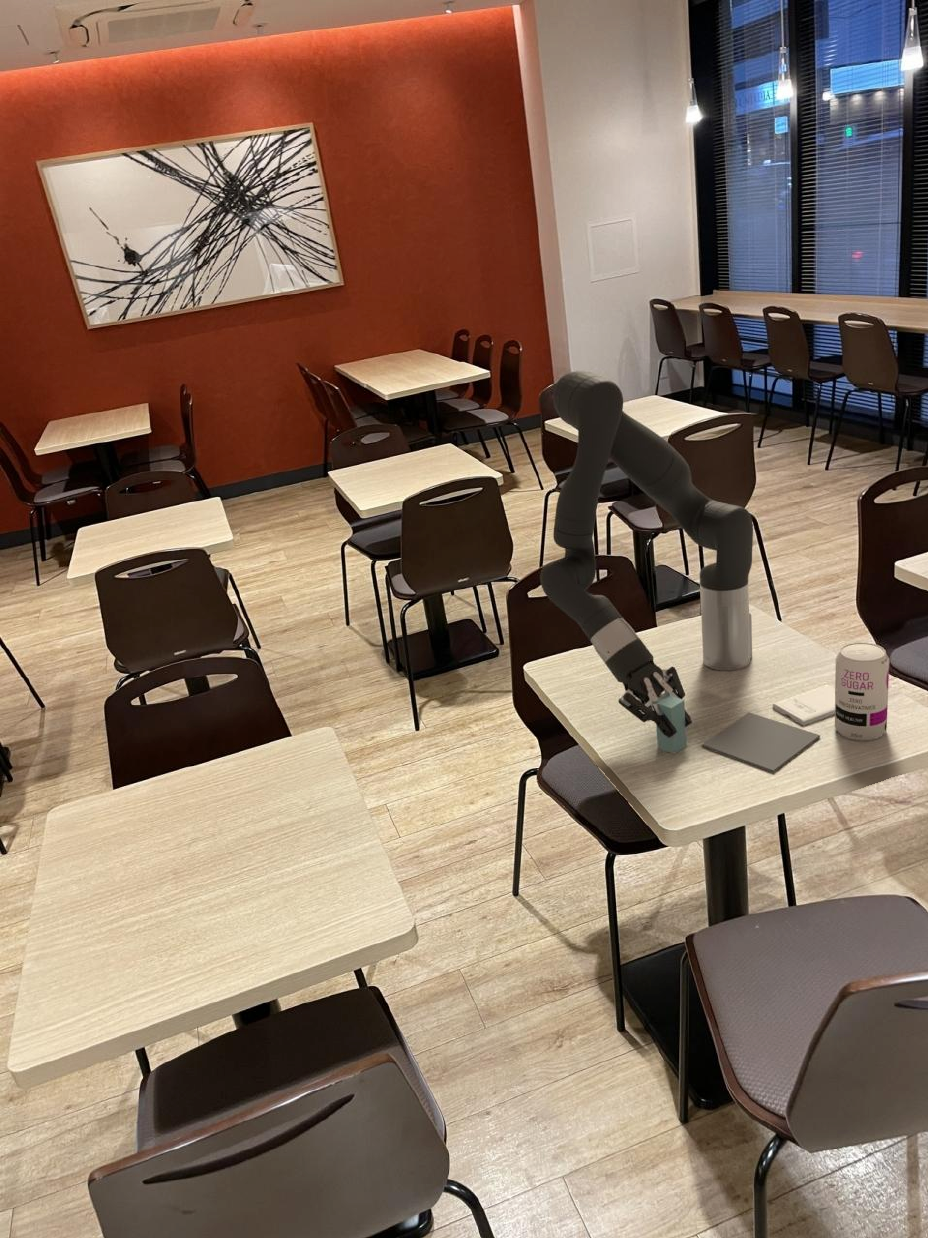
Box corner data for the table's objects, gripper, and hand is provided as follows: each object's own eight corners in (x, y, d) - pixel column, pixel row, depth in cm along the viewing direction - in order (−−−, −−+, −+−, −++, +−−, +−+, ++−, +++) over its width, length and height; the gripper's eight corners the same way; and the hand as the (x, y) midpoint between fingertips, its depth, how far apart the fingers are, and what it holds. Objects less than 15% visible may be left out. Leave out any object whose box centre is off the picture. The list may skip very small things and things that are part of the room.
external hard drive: (859, 708, 169) (803, 728, 165) (826, 691, 176) (772, 709, 172) (859, 699, 168) (803, 719, 164) (826, 683, 175) (772, 702, 172)
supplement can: (877, 717, 164) (880, 639, 159) (893, 741, 157) (896, 659, 151) (829, 720, 165) (830, 643, 160) (842, 744, 158) (843, 663, 152)
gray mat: (748, 714, 171) (748, 712, 171) (819, 737, 160) (820, 735, 160) (701, 746, 163) (701, 744, 163) (773, 772, 153) (773, 770, 152)
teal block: (670, 739, 166) (667, 694, 163) (686, 745, 164) (684, 700, 160) (657, 747, 164) (654, 702, 161) (673, 754, 162) (671, 708, 158)
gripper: (604, 654, 159) (666, 738, 154) (658, 625, 167) (718, 704, 162) (584, 674, 165) (642, 756, 160) (636, 645, 173) (694, 722, 168)
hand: (680, 729), depth 161 cm, fingers closed on teal block, 3 cm apart
